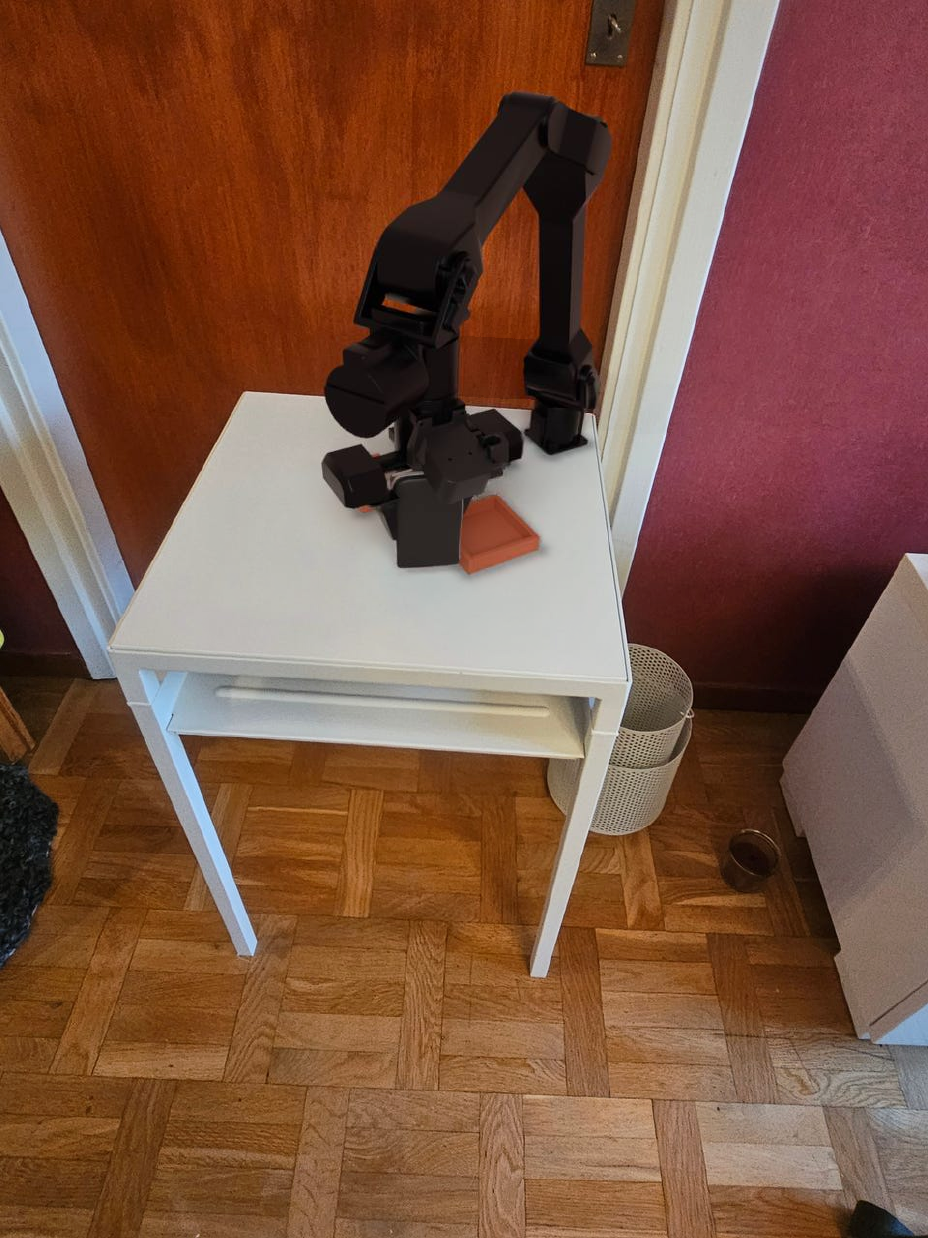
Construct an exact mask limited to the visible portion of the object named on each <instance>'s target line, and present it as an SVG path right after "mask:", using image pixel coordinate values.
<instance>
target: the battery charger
mask: <svg viewBox="0 0 928 1238" xmlns="http://www.w3.org/2000/svg"><path fill="white" fill-rule="evenodd" d="M391 489H392V490H393V491H394V492H395V493H396V494H397V496H398V497H399V498H400V499H399V500H398V501H397V502H396V503H395V508H396V518H397V527H398V534H397V540H395V541H394V546H395V564H396V566H397V568H398V569H414V568H415V569H417V568H428V567H429V568H430V567H431V568H432V567H442V566H444V567H445V566H451V565H458V564H459V562H460V536H461V527H462V515H463V499H461V500H458V501H457V502H455V503H452V504H444V503H442V502H440V501H439V500H438V499H437V498H436V496H435V494H434V490H433V489H432V487H431V485H430V483H429V482H428V480H427V478H426V477H425V475H424V473H423V471H422V469H419V470H416V471H411V472H408V473H404V474H401V475H397V476H394V477H392V478H391Z"/></svg>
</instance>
